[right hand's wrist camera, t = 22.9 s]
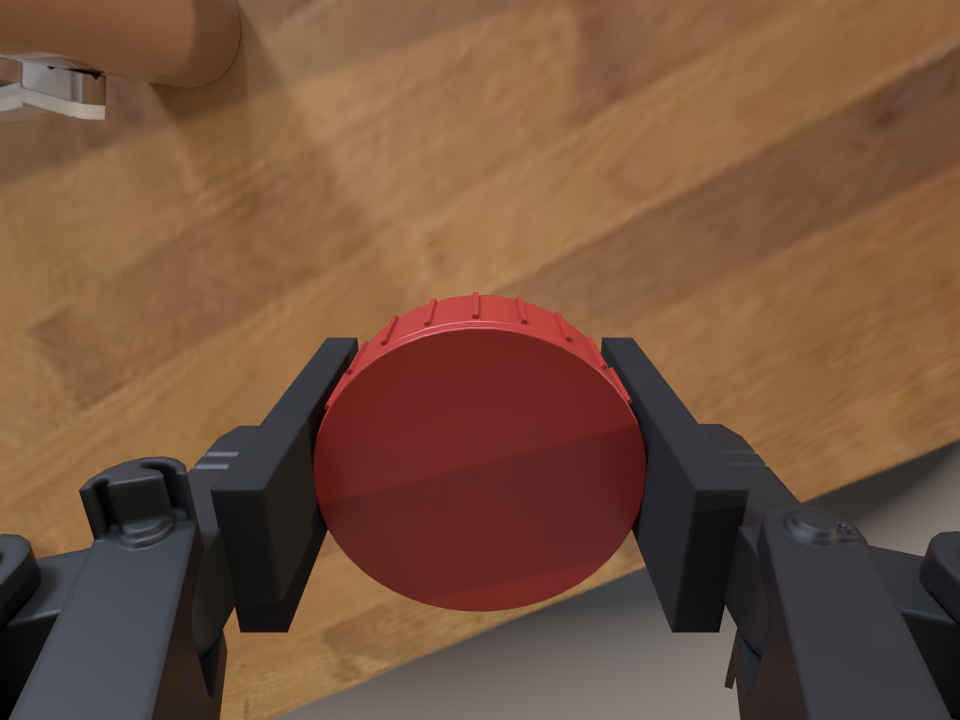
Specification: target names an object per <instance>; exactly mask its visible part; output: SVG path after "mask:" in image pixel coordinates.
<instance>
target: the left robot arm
mask: <svg viewBox="0 0 960 720" xmlns="http://www.w3.org/2000/svg"><path fill="white" fill-rule="evenodd" d="M105 98H106V76H104V75H101V74H95V73H89V72H83V71H76V70H70V69H64V68H57V67H51V66H45V65H38V64H32V63H26V62H22V82H18V83H14V84H12V83H11V82H10V81H7V80H4V79H0V122H10V123H16V122H19V121H23V120H26V119H29V118H32V117H36V116H39V115H42V114H45V113H49V112H55V113H59V114H62V115H65V116H69V117H74V118H80V119H88V120H105Z"/></svg>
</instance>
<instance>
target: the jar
mask: <svg viewBox="0 0 960 720" xmlns="http://www.w3.org/2000/svg"><path fill="white" fill-rule="evenodd" d="M240 35H241V24H240V16H239V11H238V7H237V4H236V1H235V0H0V59H7V60H13V61H19V62H26V63H32V64H38V65H45V66H51V67H57V68H64V69H70V70H76V71H83V72H89V73H95V74H102V75H108V76H114V77H121V78H127V79H133V80H140V81H146V82H152V83H159V84H165V85H171V86H178V87H184V88H194V87H201V86H204V85H208V84H210V83H212V82H214V81H215V80H217V79H218V78H220V77H221V76H222V75H223V74H224V73H225V72H226V71H227V70H228V69H229V67H230V66H231V64H232V62H233V61H234V59H235V56H236V54H237V51H238V47H239V43H240Z"/></svg>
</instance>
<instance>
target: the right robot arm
mask: <svg viewBox="0 0 960 720" xmlns="http://www.w3.org/2000/svg"><path fill="white" fill-rule="evenodd" d="M357 353H358V340H357V338H327V339H326V340H325V341H324V343H323V344H322V345H321V347H320V348H319V349H318V351H317V352H316V353H315V354H314V356H313V357H312V358H311V360H310V361H309V362H308V364H307V365H306V366H305V367H304V369H303V370H302V371H301V373H300V374H299V375H298V377H297V378H296V379H295V380H294V382H293V383H292V384H291V386H290V387H289V388H288V390H287V391H286V392H285V393H284V395H283V396H282V397H281V399H280V400H279V401H278V403H277V404H276V405H275V406H274V408H273V409H272V410H271V412H270V413H269V414H268V416H267V417H266V418H265V419H264V421H263V422H262V423H261V425H260V426H238V427H237V428H235V429H233V430H232V431H230V432H228V433H227V434H225V435H223V436H222V437H220V438H218V439H217V440H216V442H215V443H214V444H213V445H212V446H211V447H210V448H209V450H208V451H207V452H206V453H205V456H202V458H201V459H200V460H199V461H198V462H197V463H196V464H195V467H194V469H191V470H190V471H189V472H188V474H187V470H186V466H185V464H183V463H182V462H180V461H179V460H178V459H174V458H168V457H148V458H141V459H137V460H132V461H128V462H124V463H121V464H119V465H116V466H114V467H111V468H109V469H106V470H104V471H102V472H101V473H99V474H97V475H96V476H94V477H93V478H91V479H89V480H88V481H87V482H86V483H85V484H84V485H83V487H82V488H81V489H80V490H79V493H80V496H81V499H82V502H83V505H84V508H85V511H86V515H87V518H88V521H89V524H90V527H91V530H92V533H93V537H94V542H93V544H92V546H91V548H87V549H84V550H79V551H74V552H69V553H64V554H59V555H54V556H49V557H44V558H39V559H36V558H35V556H34V553H33V550H32V548H31V545H30V542H29V541H28V540H27V539H25V538H24V537H22V536H20V535H11V534H0V720H220V712H221V703H222V695H223V686H224V677H225V668H226V659H227V647H226V641H225V636H224V632H223V628H224V626H225V624H226V622H227V620H228V618H229V616H230V614H231V613H232V611H233V609H234V607H235V608H236V613H237V618H238V622H239V627H240V632H288V630H289V628H290V625H291V622H292V620H293V617H294V615H295V612H296V610H297V607H298V604H299V602H300V599H301V597H302V594H303V592H304V589H305V586H306V584H307V581H308V579H309V576H310V574H311V571H312V569H313V566H314V563H315V561H316V558H317V556H318V553H319V551H320V548H321V545H322V543H323V540H324V538H325V535H326V533H327V530H328V528H327V526H326V523H325V521H324V519H323V517H322V514H321V512H320V509H319V506H318V502H317V498H316V491H315V484H314V476H313V454H314V449H315V443H316V438H317V435H318V432H319V429H320V426H321V423H322V421H323V418H324V416H325V414H326V412H327V411H328V410H326V409H324V408H325V405H326V404H327V402H328V400H329V398H330V397H331V395H332V393H333V391H334V390H335V388H336V386H337V385H338V383H339V381H340V379H341V378H342V376H343V374H344V373H346V372H347V370H348V369H349V367H350V365H351V363H352V362H353V360H354V358H355V356H356V355H357ZM601 355H602V357H603V359H604V360H605V362H606V364H607V366H608V368H611V367H612V368H613V369H614V371H615V373H616V374H617V376H618V378H619V380H620V381H621V383H622V385H623V386H624V388H625V390H626V392H627V393H628V395H629V397H630V399H631V401H632V403H630V404H629V406H630V408H631V410H632V412H633V414H634V416H635V418H636V420H637V422H638V425H639V428H640V431H641V434H642V437H643V441H644V447H645V453H646V481H645V488H644V496H643V500H642V503H641V507H640V510H639V513H638V515H637V518H636V520H635V522H634V524H633V526H632V531H633V533H634V536H635V539H636V541H637V544H638V546H639V549H640V551H641V554H642V557H643V559H644V562H645V564H646V567H647V569H648V572H649V574H650V577H651V580H652V582H653V585H654V587H655V590H656V593H657V595H658V598H659V600H660V603H661V605H662V608H663V610H664V613H665V616H666V618H667V621H668V623H669V626H670V628H671V631H672V632H719V630H720V625H721V620H722V616H723V611H724V607H725V605H726V606H727V608H728V610H729V612H730V614H731V616H732V618H733V620H734V622H735V624H736V625H737V632H736V636H735V641H734V645H733V649H732V654H731V658H730V662H729V667H728V671H727V676H726V682H725V687H727V688H730V689H732V688H733V684H734V680H735V677H736V684H737V693H738V702H739V711H740V719H741V720H960V532H958V531H954V532H943V533H939V534H938V535H936V536H935V537H933V538H932V539H931V541H930V543H929V546H928V549H927V552H926V554H925V557H923V556H918V555H913V554H908V553H903V552H898V551H893V550H888V549H883V548H878V547H874V546H870V545H868V543H867V541H866V539H865V538H864V536H863V535H862V534H861V532H860V531H859V530H858V529H857V527H855V526H854V525H853V524H851V523H850V522H848V521H847V520H846V519H844V518H843V517H841V516H839V515H837V514H835V513H833V512H830V511H828V510H826V509H824V508H821V507H817V506H813V505H809V504H805V503H800V502H799V501H798V500H797V499H796V498H795V496H794V495H793V494H792V493H791V492H790V491H789V490H788V488H787V487H786V486H785V485H784V484H783V483H782V482H781V481H780V479H779V478H778V477H777V476H776V475H775V474H774V473H773V471H772V470H771V469H770V468H769V467H766V465H765V462H764V461H763V460H762V459H761V458H760V457H759V456H758V454H755V451H754V450H753V449H752V448H751V447H750V445H749V444H748V443H747V442H746V441H745V440H744V439H743V437H742V436H740V435H738V434H736V433H735V432H733V431H731V430H730V429H728V428H726V427H725V426H723V425H721V424H698V423H697V421H696V420H695V419H694V417H693V416H692V415H691V413H690V412H689V411H688V410H687V408H686V407H685V406H684V404H683V403H682V402H681V400H680V399H679V398H678V397H677V395H676V394H675V393H674V391H673V390H672V389H671V387H670V386H669V385H668V384H667V382H666V381H665V380H664V378H663V377H662V376H661V374H660V373H659V372H658V371H657V369H656V368H655V367H654V365H653V364H652V363H651V361H650V360H649V359H648V358H647V356H646V355H645V354H644V352H643V351H642V350H641V348H640V347H639V346H638V345H637V343H636V342H635V341H634V339H633V338H602V347H601ZM346 374H347V373H346Z"/></svg>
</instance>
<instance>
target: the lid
mask: <svg viewBox="0 0 960 720" xmlns="http://www.w3.org/2000/svg"><path fill="white" fill-rule="evenodd" d="M346 373H347V374H346ZM346 373H344V374H343V376H342V378H341V379H340V381H339V383H338V385H337V386H336V388H335V390H334V391H333V393H332V395H331V397H330V398H329V400H328V402H327V404H326V405H325V408H324V409H326V410H328V411H327V412H326V414H325V416H324V418H323V421H322V423H321V426H320V429H319V432H318V435H317V438H316V443H315V449H314V454H313V476H314V484H315V491H316V498H317V502H318V506H319V509H320V512H321V514H322V517H323V519H324V521H325V523H326V526H327V528H328V530H329V531H330V533H331V534H332V536H333V538H334V539H335V541H336V542H337V544H338V545H339V546H340V548H341V549H342V550H343V551H344V553H345V554H346V555H347V556H348V557H349V558H350V559H351V560H352V561H353V562H354V563H355V564H356V565H357V566H358V567H359V568H360V569H361V570H362V571H363V572H365V573H366V574H368V575H369V576H370V577H372V578H373V579H374V580H376V581H377V582H378V583H380V584H382V585H384V586H385V587H387V588H389V589H391V590H392V591H394V592H396V593H399V594H401V595H403V596H405V597H408V598H410V599H412V600H415V601H418V602H422V603H425V604H428V605H431V606H436V607H441V608H446V609H451V610H461V611H498V610H508V609H513V608H519V607H524V606H528V605H531V604H535V603H538V602H541V601H544V600H547V599H549V598H552V597H554V596H556V595H559V594H561V593H563V592H565V591H567V590H569V589H571V588H572V587H574V586H576V585H578V584H579V583H581V582H582V581H584V580H585V579H586V578H588V577H589V576H591V575H592V574H593V573H595V572H596V571H597V570H598V569H599V568H600V567H601V566H602V565H604V564H605V563H606V562H607V561H608V560H609V559H610V558H611V556H612V555H613V554H614V553H615V552H616V551H617V549H618V548H619V547H620V546H621V544H622V543H623V541H624V540H625V538H626V537H627V535H628V534H629V532H630V530H631V528H632V526H633V524H634V522H635V520H636V518H637V515H638V513H639V510H640V507H641V503H642V500H643V496H644V488H645V481H646V453H645V447H644V441H643V437H642V434H641V431H640V428H639V425H638V422H637V420H636V418H635V416H634V414H633V412H632V410H631V408H630V406H629V404H630V403H632V401H631V399H630V397H629V395H628V393H627V392H626V390H625V388H624V386H623V385H622V383H621V381H620V380H619V378H618V376H617V374H616V373H615V371H614V369H613V368H612V367H611V368H608V366H607V364H606V362H605V360H604V359H603V357H602V355H601V353H600V352H599V350H598V348H597V346H596V345H595V343H594V341H593V339H592V338H591V337H590V336H589V337H587V338H585V337H584V336H583V335H582V333H581V332H579V331H578V330H577V329H575V328H574V327H573V326H572V325H570V324H569V323H568V322H566V321H565V320H564V319H563V317H562V315H561V314H560V313H559V312H556V313H555V314H553V313H551V312H549V311H547V310H545V309H543V308H540V307H538V306H535V305H533V304H530V303H527V302H523V300H522V297H518V296H517V297H516V299H512V298H505V297H498V296H482V295H479V292H473V295H470V296H462V297H453V298H448V299H444V300H440V301H436V298H434V299H431V300H430V303H429V304H427V305H424V306H422V307H419V308H417V309H414V310H412V311H410V312H408V313H407V314H405V315H403V316H401V317H398V316H397V315H396V316H394V317H393V318H392V320H391V322H390V324H389V325H388V326H387V327H385V328H384V329H383V330H381V331H380V332H379V333H378V334H377V335H376V336H375V337H374V338H373V339H372V340H371V341H370V342H369V343H368V342H366V341H365V342H364V343H363V344H362V346H361V348H360V349H359V351H358V353H357V355H356V356H355V358H354V360H353V362H352V363H351V365H350V367H349V369H348V370H347V372H346Z"/></svg>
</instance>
